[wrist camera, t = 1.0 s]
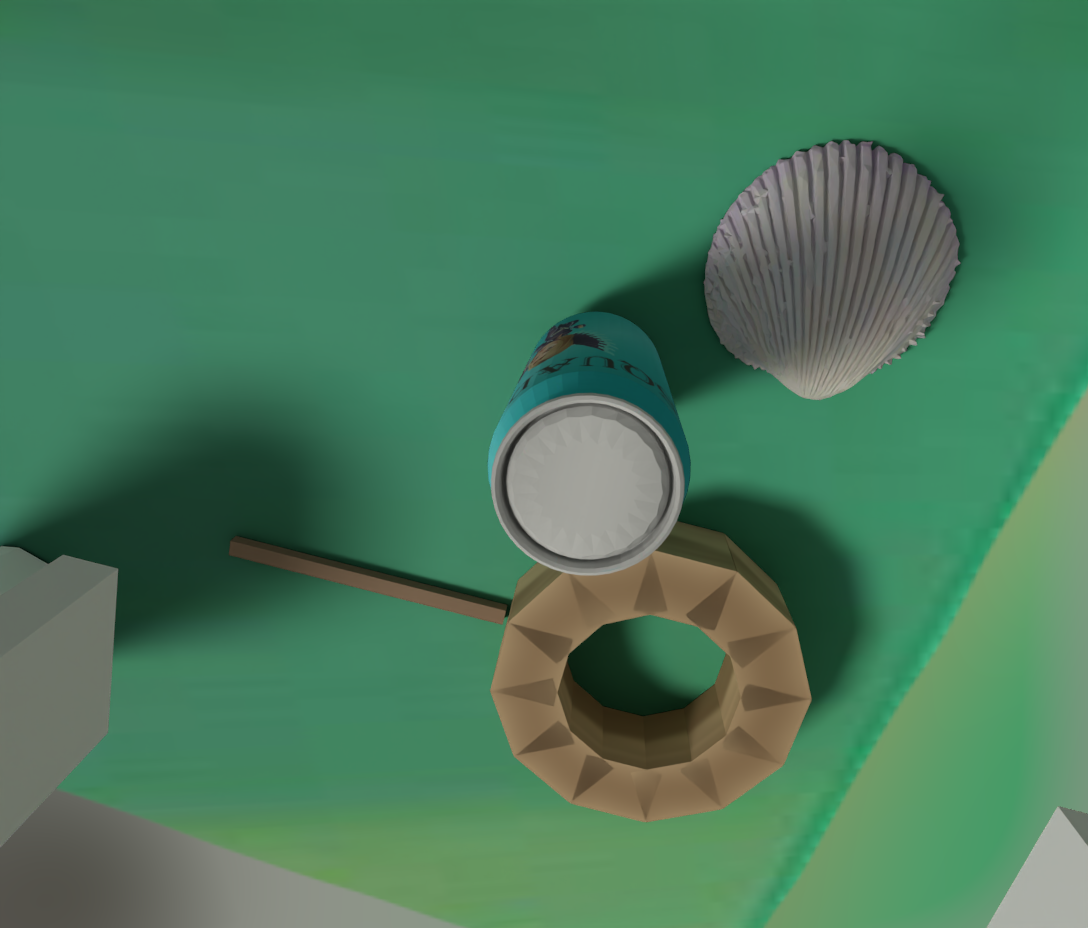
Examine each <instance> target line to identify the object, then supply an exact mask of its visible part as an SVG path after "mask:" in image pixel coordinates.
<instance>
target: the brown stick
mask: <svg viewBox="0 0 1088 928" xmlns="http://www.w3.org/2000/svg"><path fill="white" fill-rule="evenodd" d="M229 555H231V556H234V557H238V558H242V559H246V560H250V561H254V562H258V563H262V564H266V565H270V566H274V567H278V568H282V569H286V570H289V571H293V572H297V573H301V574H305V575H309V576H313V577H317V578H321V579H325V580H329V581H333V582H337V583H341V584H345V585H348V586H352V587H356V588H360V589H364V590H368V591H372V592H376V593H380V594H384V595H388V596H392V597H396V598H400V599H404V600H407V601H411V602H415V603H419V604H423V605H427V606H431V607H435V608H439V609H443V610H447V611H451V612H455V613H459V614H462V615H466V616H470V617H474V618H478V619H482V620H486V621H490V622H494V623H498V624H503V620H504V617H505V613H506V609H507V605H506V604H502V603H498V602H494V601H490V600H486V599H482V598H478V597H474V596H470V595H466V594H462V593H458V592H455V591H451V590H447V589H443V588H439V587H435V586H431V585H427V584H423V583H419V582H415V581H411V580H407V579H403V578H400V577H396V576H392V575H388V574H384V573H380V572H376V571H372V570H368V569H364V568H360V567H356V566H352V565H348V564H345V563H341V562H337V561H333V560H329V559H325V558H321V557H317V556H313V555H309V554H305V553H301V552H297V551H293V550H290V549H286V548H282V547H278V546H274V545H270V544H266V543H262V542H258V541H254V540H250V539H246V538H242V537H238V536H235V537H234V538H233V539H232V540H231V541H230V549H229Z"/></svg>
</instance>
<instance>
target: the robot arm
mask: <svg viewBox="0 0 1088 928" xmlns="http://www.w3.org/2000/svg"><path fill="white" fill-rule="evenodd" d="M117 581H118V568H114V567H110V566H106V565H102V564H98V563H94V562H90V561H86V560H82V559H78V558H74V557H70V556H66V555H62V556H60V557H59V558H57V559H56V560H54V561H53V562H51V563H49V564H48V565H46V566H45V567H43V568H42V569H40V570H39V571H37V572H36V573H34V574H33V575H31V576H30V577H28V578H26V579H25V580H23V581H22V582H20V583H19V584H17V585H16V586H14V587H13V588H11V589H10V590H8V591H6V592H5V593H3V594H2V595H0V847H1V846H2V845H3V844H4V843H5V842H6V841H7V840H8V839H9V837H10V836H11V835H12V834H13V833H14V832H15V831H16V830H17V829H18V828H19V827H20V826H21V825H22V824H23V823H24V822H25V820H26V819H27V818H28V817H29V816H30V815H31V814H32V813H33V812H34V811H35V810H36V809H37V808H38V806H40V804H41V803H42V802H43V801H44V800H45V799H46V798H47V797H48V796H49V795H50V794H51V793H52V792H53V791H54V790H55V788H56V787H57V786H58V785H59V784H60V783H61V782H62V781H63V780H64V779H65V778H66V777H67V776H68V775H69V774H70V772H71V771H72V770H73V769H74V768H75V767H76V766H77V765H78V764H79V763H80V762H81V761H82V760H83V759H84V758H85V756H86V755H87V754H88V753H89V752H90V751H91V750H92V749H93V748H94V747H95V746H96V745H97V744H98V743H99V742H100V740H101V739H102V738H103V737H104V736H105V735H106V734H107V733H108V723H109V708H110V692H111V676H112V660H113V644H114V628H115V613H116V597H117ZM987 928H1088V814H1087V813H1083V812H1079V811H1075V810H1071V809H1067V808H1063V807H1059V806H1058V807H1057V809H1056V811H1055V812H1054V814H1053V816H1052V817H1051V819H1050V821H1049V822H1048V824H1047V826H1046V828H1045V829H1044V831H1043V832H1042V834H1041V836H1040V838H1039V839H1038V841H1037V843H1036V845H1035V846H1034V848H1033V850H1032V852H1031V853H1030V855H1029V856H1028V858H1027V860H1026V862H1025V863H1024V865H1023V867H1022V868H1021V870H1020V872H1019V874H1018V875H1017V877H1016V879H1015V880H1014V882H1013V884H1012V885H1011V887H1010V889H1009V890H1008V892H1007V894H1006V896H1005V898H1004V899H1003V901H1002V902H1001V904H1000V906H999V908H998V909H997V911H996V913H995V914H994V916H993V918H992V919H991V921H990V923H989V925H988V926H987Z"/></svg>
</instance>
